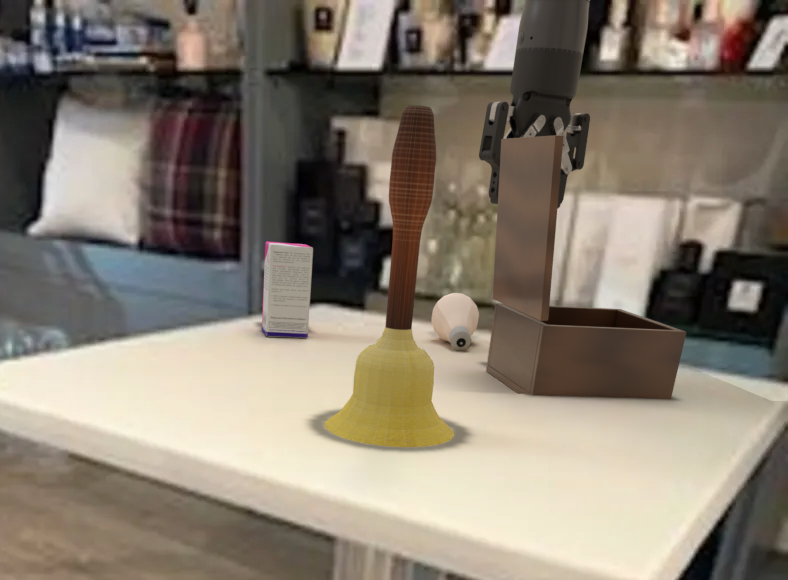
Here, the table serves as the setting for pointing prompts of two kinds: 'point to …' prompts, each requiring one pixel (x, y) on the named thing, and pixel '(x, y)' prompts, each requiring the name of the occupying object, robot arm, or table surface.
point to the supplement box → (286, 289)
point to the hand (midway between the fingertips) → (525, 206)
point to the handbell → (399, 313)
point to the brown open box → (584, 353)
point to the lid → (527, 223)
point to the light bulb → (455, 319)
